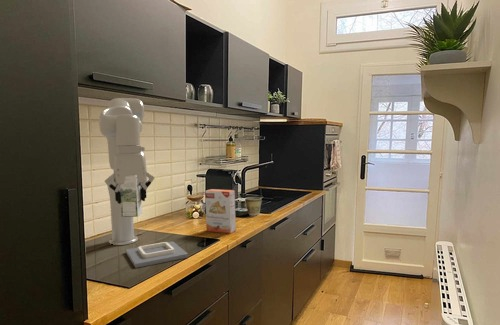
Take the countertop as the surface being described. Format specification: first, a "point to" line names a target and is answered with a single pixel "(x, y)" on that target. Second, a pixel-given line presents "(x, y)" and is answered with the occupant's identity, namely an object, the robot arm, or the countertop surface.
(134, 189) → the syrup box
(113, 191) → the robot arm
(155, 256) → the base board
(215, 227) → the cracker box
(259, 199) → the ceramic cup
